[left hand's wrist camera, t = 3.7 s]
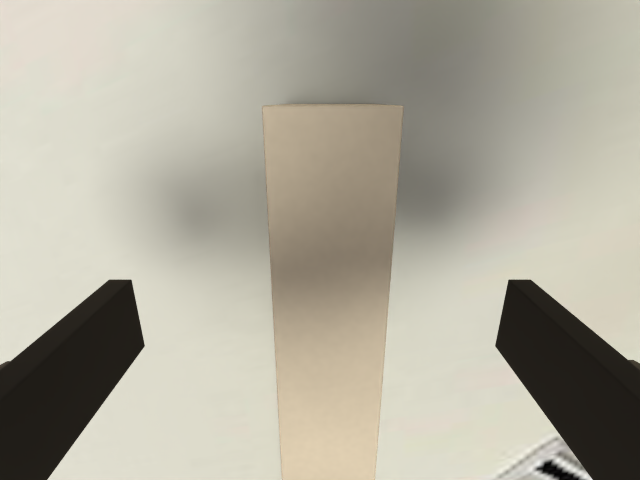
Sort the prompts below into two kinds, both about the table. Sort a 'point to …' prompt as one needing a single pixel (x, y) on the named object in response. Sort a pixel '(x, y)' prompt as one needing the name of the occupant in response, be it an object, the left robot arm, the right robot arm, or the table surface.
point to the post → (330, 279)
